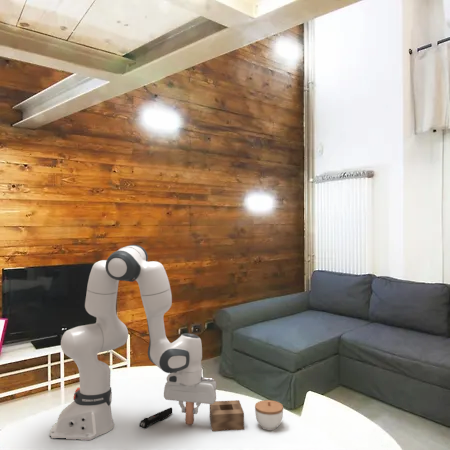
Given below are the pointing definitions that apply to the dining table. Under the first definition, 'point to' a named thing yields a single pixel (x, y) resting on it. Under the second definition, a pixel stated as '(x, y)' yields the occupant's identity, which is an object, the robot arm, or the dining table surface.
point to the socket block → (226, 415)
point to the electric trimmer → (155, 418)
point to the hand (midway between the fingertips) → (189, 412)
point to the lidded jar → (269, 414)
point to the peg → (189, 413)
